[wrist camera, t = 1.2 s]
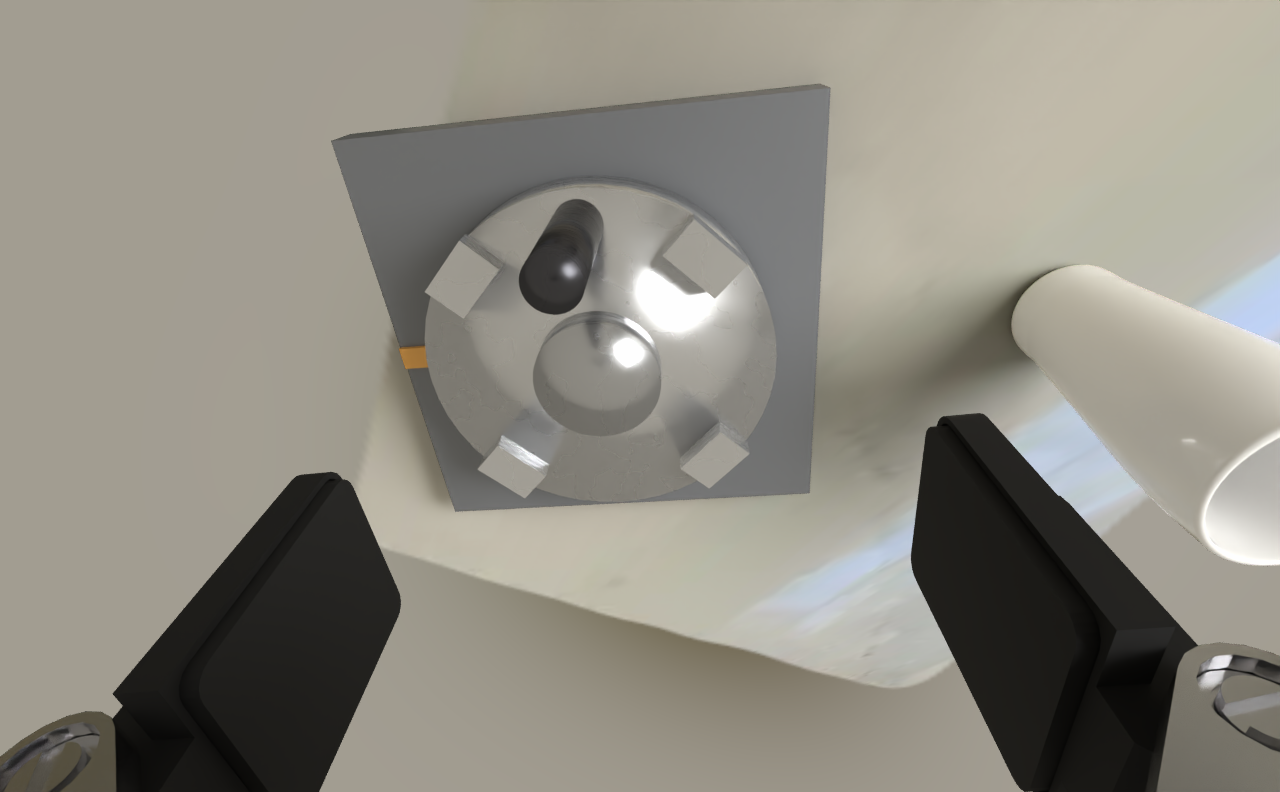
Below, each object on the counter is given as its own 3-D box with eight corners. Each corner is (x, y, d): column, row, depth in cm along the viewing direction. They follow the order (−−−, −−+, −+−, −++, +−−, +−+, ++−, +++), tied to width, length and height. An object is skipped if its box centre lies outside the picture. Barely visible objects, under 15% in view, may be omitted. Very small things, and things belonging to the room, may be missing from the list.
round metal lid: (398, 193, 29) (291, 262, 20) (770, 157, 27) (814, 215, 19) (483, 481, 37) (432, 609, 29) (768, 465, 36) (797, 595, 28)
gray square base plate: (350, 134, 29) (328, 141, 28) (820, 83, 28) (831, 88, 26) (464, 490, 41) (454, 513, 39) (803, 472, 39) (810, 495, 37)
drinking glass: (1149, 242, 31) (1496, 400, 18) (1107, 362, 34) (1370, 567, 21) (1008, 250, 31) (1245, 410, 18) (980, 368, 35) (1163, 571, 22)
